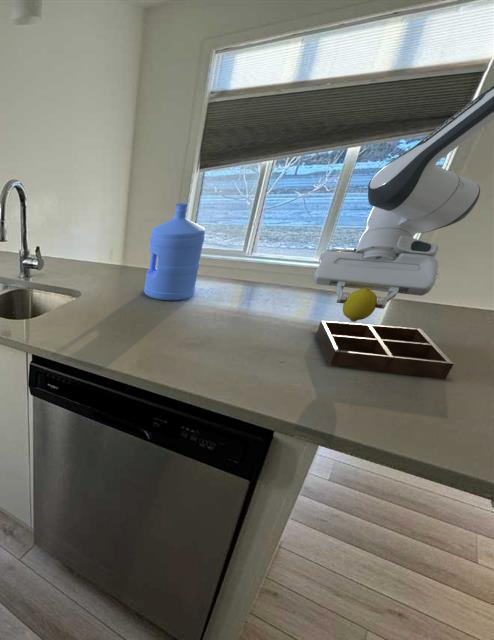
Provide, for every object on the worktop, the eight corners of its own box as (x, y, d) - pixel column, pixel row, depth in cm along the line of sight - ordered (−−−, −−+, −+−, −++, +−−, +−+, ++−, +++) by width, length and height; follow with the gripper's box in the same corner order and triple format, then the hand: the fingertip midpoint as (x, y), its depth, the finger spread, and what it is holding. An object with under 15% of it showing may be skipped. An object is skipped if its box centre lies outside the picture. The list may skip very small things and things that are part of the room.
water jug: (200, 290, 136) (217, 200, 122) (184, 304, 127) (201, 208, 113) (154, 284, 146) (165, 200, 132) (136, 297, 136) (146, 207, 122)
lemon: (348, 315, 97) (361, 283, 93) (374, 323, 92) (389, 289, 88) (331, 320, 95) (344, 287, 91) (357, 328, 91) (371, 293, 87)
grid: (413, 342, 94) (420, 328, 92) (445, 379, 80) (454, 363, 79) (316, 333, 102) (320, 320, 100) (329, 365, 88) (335, 351, 87)
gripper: (325, 239, 96) (305, 291, 95) (449, 246, 84) (427, 305, 83) (322, 254, 101) (302, 303, 100) (438, 263, 89) (417, 319, 87)
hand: (360, 304), depth 91 cm, fingers closed on lemon, 5 cm apart
